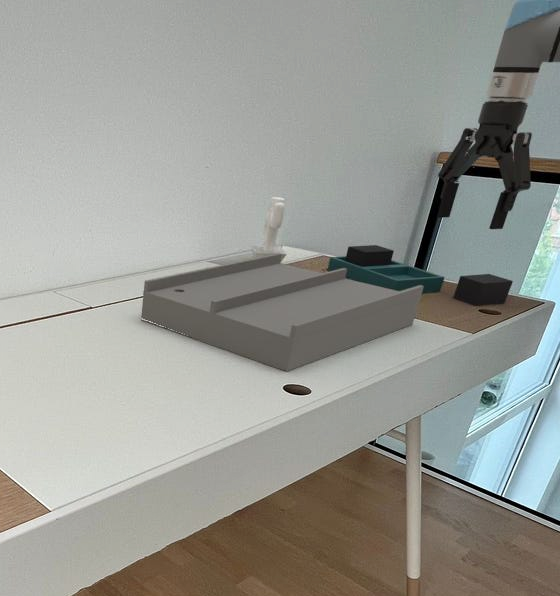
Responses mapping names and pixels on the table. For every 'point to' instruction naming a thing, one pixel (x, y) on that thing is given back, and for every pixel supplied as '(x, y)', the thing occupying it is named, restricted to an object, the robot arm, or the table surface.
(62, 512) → the table surface
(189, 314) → the desk organizer
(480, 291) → the pad
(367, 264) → the pad
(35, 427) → the table surface
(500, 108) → the robot arm
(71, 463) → the table surface
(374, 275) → the back divided tray
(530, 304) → the table surface
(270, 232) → the figurine
